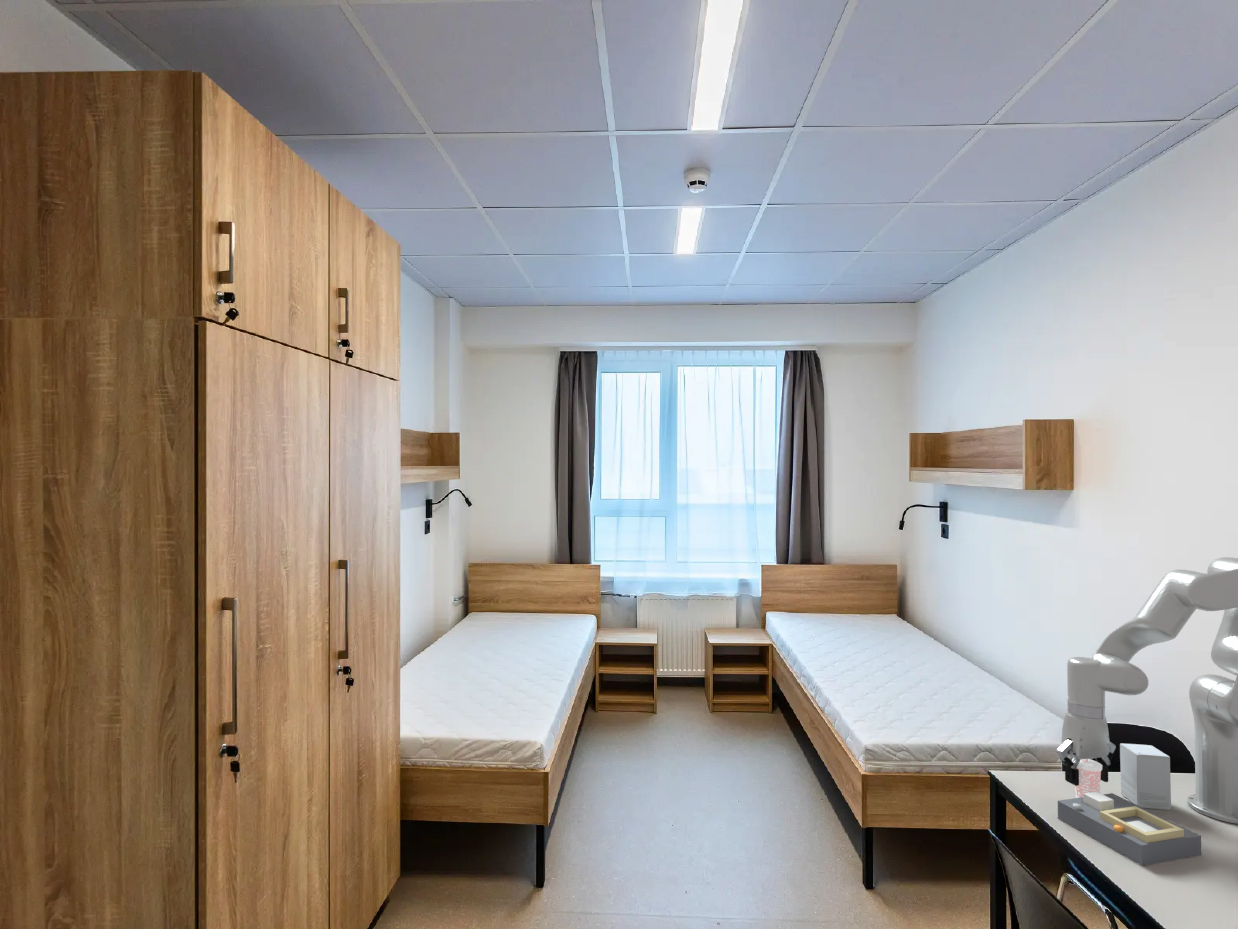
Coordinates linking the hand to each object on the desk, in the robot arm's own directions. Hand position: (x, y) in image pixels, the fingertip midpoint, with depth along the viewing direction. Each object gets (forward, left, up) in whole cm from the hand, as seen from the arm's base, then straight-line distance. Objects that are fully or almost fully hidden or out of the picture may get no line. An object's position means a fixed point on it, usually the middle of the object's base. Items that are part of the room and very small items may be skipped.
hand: (1086, 781), depth 159 cm
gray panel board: (+7, +14, -4) cm, 16 cm away
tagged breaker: (+8, +19, -4) cm, 21 cm away
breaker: (+8, +10, -2) cm, 13 cm away
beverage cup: (0, 0, -5) cm, 5 cm away
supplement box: (-13, +4, -5) cm, 14 cm away
